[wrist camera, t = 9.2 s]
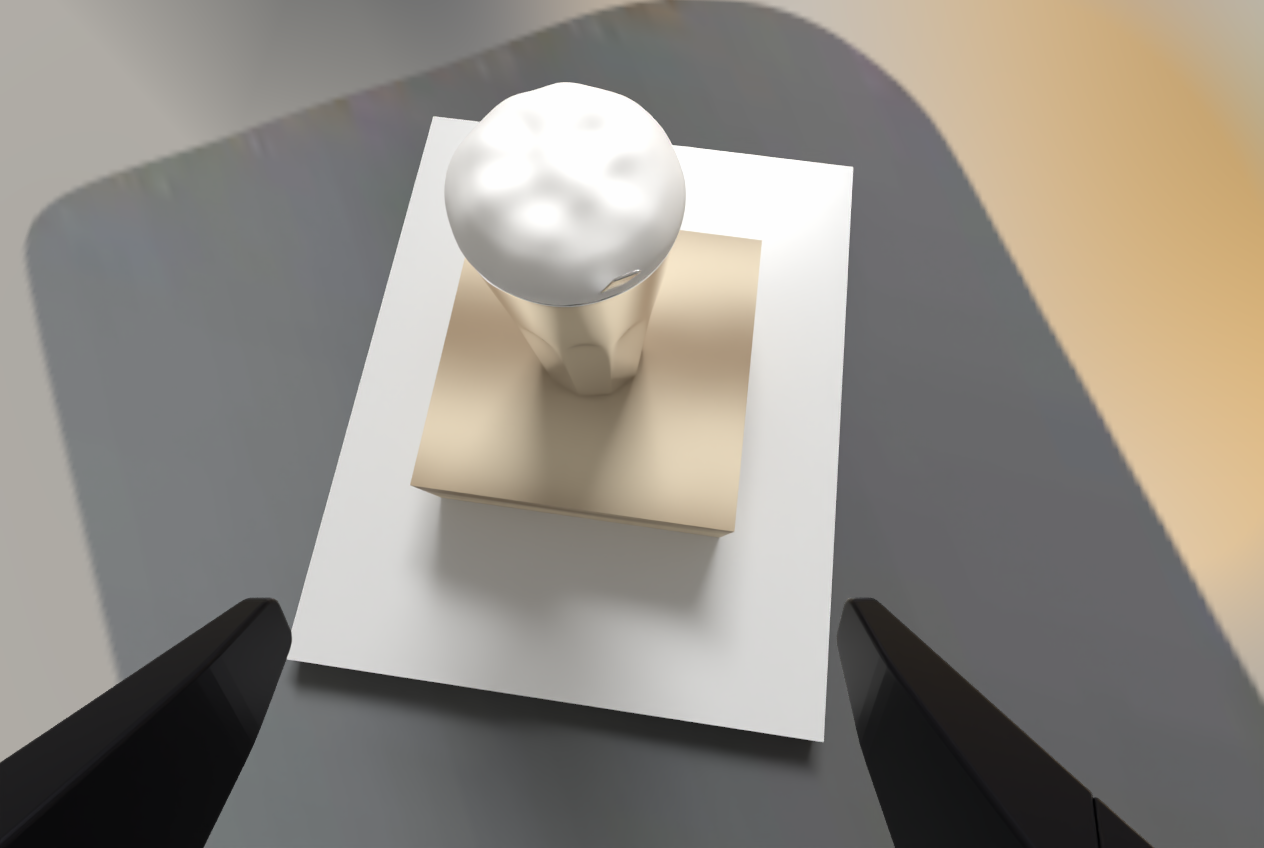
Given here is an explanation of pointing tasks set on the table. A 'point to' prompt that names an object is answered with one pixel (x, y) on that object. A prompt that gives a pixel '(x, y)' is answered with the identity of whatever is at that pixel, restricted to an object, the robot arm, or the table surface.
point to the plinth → (603, 406)
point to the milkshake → (570, 224)
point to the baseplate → (592, 549)
